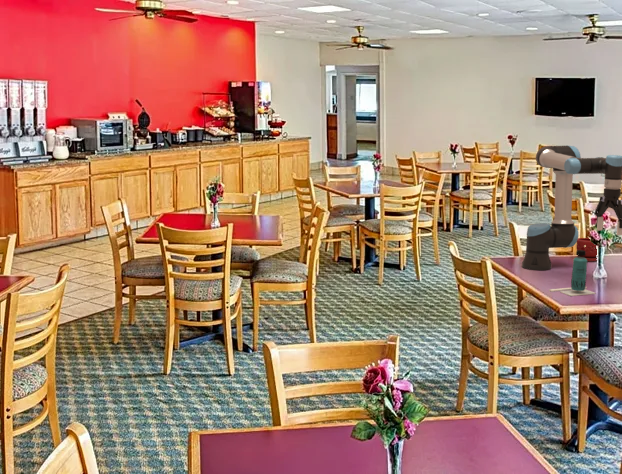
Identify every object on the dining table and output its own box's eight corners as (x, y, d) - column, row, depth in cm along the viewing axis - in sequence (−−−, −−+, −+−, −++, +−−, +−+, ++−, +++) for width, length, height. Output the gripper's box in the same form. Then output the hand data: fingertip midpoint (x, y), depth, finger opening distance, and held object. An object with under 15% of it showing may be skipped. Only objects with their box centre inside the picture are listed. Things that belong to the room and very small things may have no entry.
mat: (559, 292, 372) (559, 291, 372) (584, 289, 377) (584, 289, 377) (570, 296, 365) (570, 295, 365) (595, 293, 370) (595, 293, 370)
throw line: (549, 290, 375) (549, 289, 375) (584, 287, 382) (584, 286, 382) (551, 291, 373) (551, 290, 373) (586, 288, 380) (586, 287, 380)
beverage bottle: (568, 290, 373) (570, 249, 370) (581, 290, 374) (584, 248, 370) (574, 294, 367) (576, 251, 363) (587, 293, 368) (590, 251, 364)
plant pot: (603, 262, 438) (605, 241, 436) (579, 262, 438) (581, 241, 436) (595, 257, 451) (596, 237, 449) (572, 257, 451) (573, 236, 449)
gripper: (588, 185, 384) (585, 228, 388) (624, 191, 361) (621, 237, 365) (601, 185, 386) (598, 227, 390) (638, 190, 363) (634, 236, 367)
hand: (609, 232), depth 377 cm, fingers open, 13 cm apart
